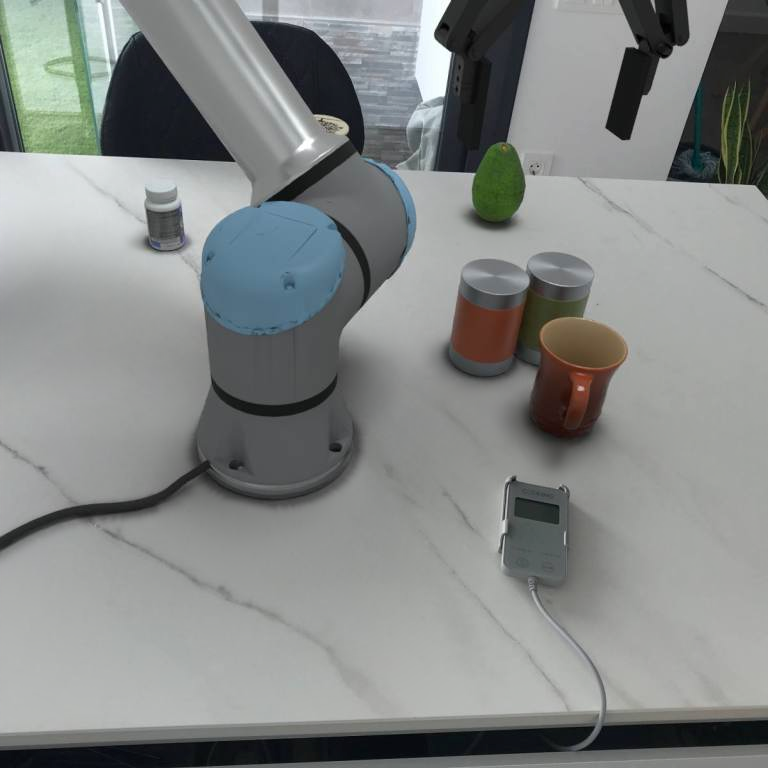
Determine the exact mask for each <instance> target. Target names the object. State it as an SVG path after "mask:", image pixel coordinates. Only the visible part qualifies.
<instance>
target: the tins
mask: <svg viewBox="0 0 768 768" xmlns="http://www.w3.org/2000/svg"><path fill="white" fill-rule="evenodd" d="M594 279H595V271H594V269H593V267H592V266H591V265H590V264H589V263H588V262H587V261H586V260H584V259H582V258H580V257H578V256H575V255H573V254H569V253H565V252H560V251H545V252H539V253H537V254H534V255H532V256H531V257H530V258H529V259H528V260H527V263H526V269H525V270H524V269H523V268H522V267H520V266H519V265H516V264H515V263H512V262H510V261H506V260H502V259H496V258H479V259H474V260H471V261H469V262H467V263H466V264H465V265H464V266H463V267H462V269H461V273H460V279H459V285H458V287H457V288H458V289H457V296H456V300H455V301H456V302H455V308H454V315H453V321H452V327H451V334H450V343H449V350H448V356H449V360H450V361H451V363H452V364H453V365H454V366H455V367H456V368H457V369H459V370H460V371H462V372H464V373H466V374H469V375H473V376H477V377H496V376H499V375H502V374H503V373H505V372H507V371H508V370H509V369H510V368H511V366H512V364H513V358H514V354H515V355H516V356H517V357H518V358H519V359H521V360H523V361H524V362H527V363H529V364H532V365H535V366H539V364H540V357H541V354H540V344H539V332H540V330H541V328H542V327H543V326H544V325H545V324H546V323H547V322H549V321H551V320H554V319H557V318H562V317H580V318H584V315H585V312H586V308H587V304H588V301H589V297H590V294H591V289H592V285H593V282H594Z"/></svg>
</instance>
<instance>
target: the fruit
mask: <svg viewBox="0 0 768 768" xmlns="http://www.w3.org/2000/svg"><path fill="white" fill-rule="evenodd" d="M524 172H525V171H524V169H523V166H522V163H521V158H520V156H519V154H518V152H517V150H516V148H515V147H514V145H513V144H511V143H508V142H504V141H500V142H497V143H495V144H492V145H491V146H490V147H489V148H488V149H487V151H486V152H485V154H484V156H483V158H482V159H481V162H480V163H479V166H478V167H477V169H476V172H475V174H474V176H473V179H472V185H471V201H472V204H473V208H474V210H475V212H476V213H477V214H478V215H479V217H480V218H481V219H483V220H485V221H487V222H493V223H496V222H502V221H504V220H507V219H509V218H511V217H512V216H513V215H514V214H515V213H516V212H517V211H519V209H520V207H521V205H522V203H523V201H524V197H525V192H526V188H527V187H526V186H527V185H526V176H525V173H524Z"/></svg>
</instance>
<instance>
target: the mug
mask: <svg viewBox="0 0 768 768" xmlns="http://www.w3.org/2000/svg"><path fill="white" fill-rule="evenodd" d="M539 344H540V354H541V357H540V364H539V365H538V368H537V371H536V374H535V377H534V381H533V384H532V388H531V392H530V394H529V398H530V401H529V413H530V416H531V418H532V420H533V421H534V423H535V424H536V425H537V426H538V427H539V428H541V429H542V430H544V431H545V432H548V433H549V434H551V435H554V436H557V437H562V438H577V437H580V436H581V437H582V436H583V435H586V434H588V433H589V432H590V431H591V430H593V428H594V426H595V425H596V423H598V420H599V418H600V416H601V415H602V411H603V407H604V404H605V401H606V398H607V395H608V391H609V386H610V383H611V380H612V378H613V377H614V375H615V374H616V373H617V372H618V370H619V369H620V367H621V366H622V365H623V364H624V362H626V360H627V357H628V354H629V349H628V345H627V342H626V341H625V339H624V338H623V336H622V335H621V334H619V333H618V332H617V331H616V330H614V329H613V328H611V327H610V326H608V325H606V324H605V323H602V322H599V321H596V320H593V319H590V318H586V317H583V318H580V317H562V318H557V319H554V320H551V321H549V322H547V323H546V324H545V325H544V326H543V327H542V328H541V330H540V332H539Z"/></svg>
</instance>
